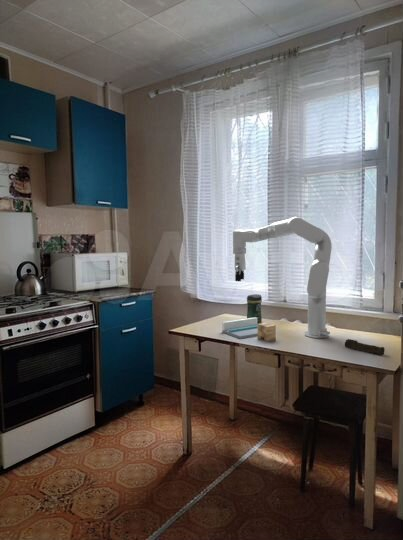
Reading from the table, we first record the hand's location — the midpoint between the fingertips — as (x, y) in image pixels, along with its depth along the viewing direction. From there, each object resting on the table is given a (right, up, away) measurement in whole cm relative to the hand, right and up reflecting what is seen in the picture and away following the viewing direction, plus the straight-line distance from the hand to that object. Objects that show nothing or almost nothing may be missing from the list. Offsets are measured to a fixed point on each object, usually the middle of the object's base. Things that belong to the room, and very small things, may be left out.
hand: (239, 280), depth 228 cm
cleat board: (+5, -30, -3) cm, 31 cm away
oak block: (+13, -32, -17) cm, 38 cm away
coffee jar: (+12, -28, +22) cm, 38 cm away
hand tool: (+55, -33, -42) cm, 77 cm away
